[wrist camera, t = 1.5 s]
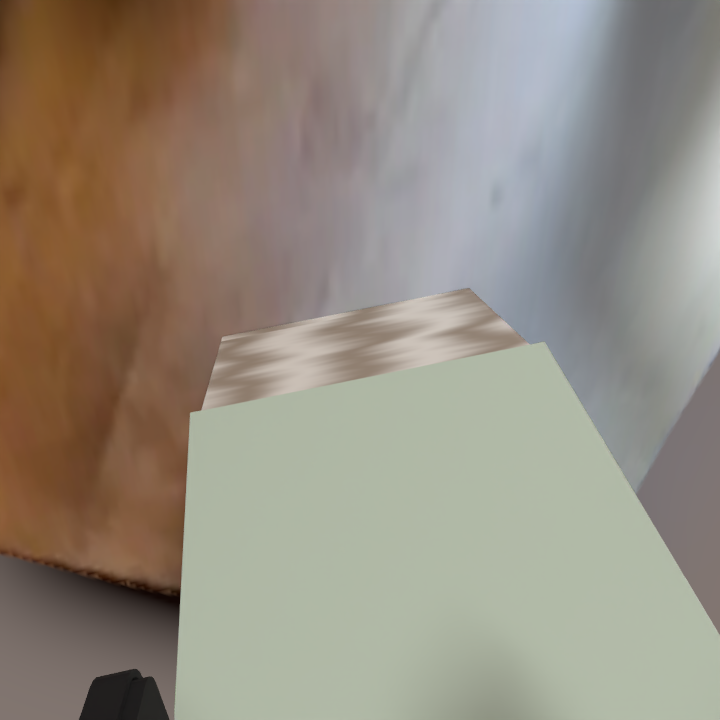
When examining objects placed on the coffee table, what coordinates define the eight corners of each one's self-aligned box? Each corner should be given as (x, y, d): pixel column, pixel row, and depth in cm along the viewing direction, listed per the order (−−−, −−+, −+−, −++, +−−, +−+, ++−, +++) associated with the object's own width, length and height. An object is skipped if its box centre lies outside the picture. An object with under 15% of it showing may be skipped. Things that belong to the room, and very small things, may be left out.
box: (469, 288, 45) (543, 357, 32) (493, 499, 51) (564, 629, 38) (222, 336, 45) (196, 427, 32) (276, 544, 51) (273, 693, 38)
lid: (543, 357, 32) (544, 341, 32) (756, 725, 19) (765, 711, 19) (196, 427, 32) (190, 412, 31) (178, 856, 19) (167, 846, 18)
